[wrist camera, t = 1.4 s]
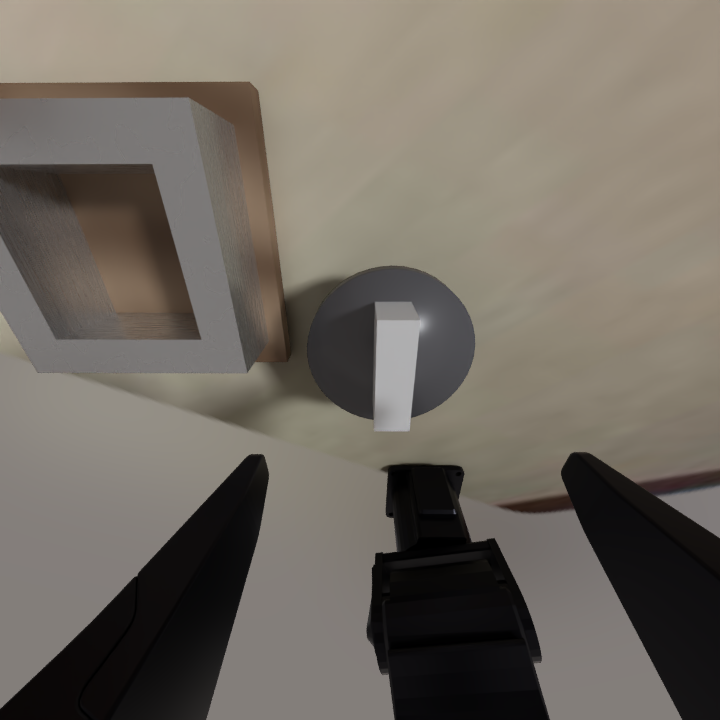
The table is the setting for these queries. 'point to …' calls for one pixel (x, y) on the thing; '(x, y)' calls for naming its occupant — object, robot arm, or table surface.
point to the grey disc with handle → (390, 345)
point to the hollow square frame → (74, 258)
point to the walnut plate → (147, 213)
